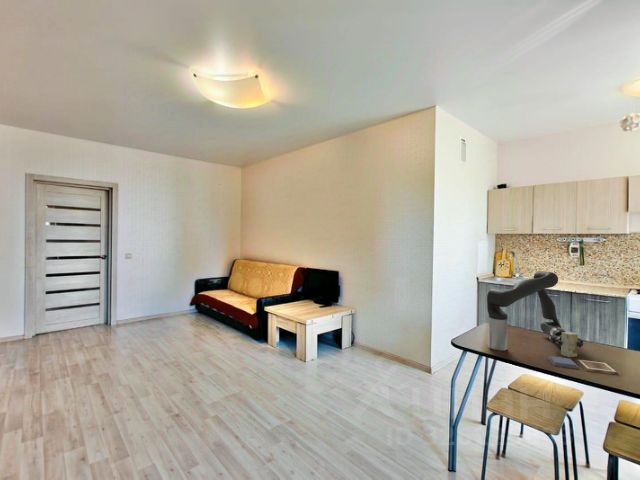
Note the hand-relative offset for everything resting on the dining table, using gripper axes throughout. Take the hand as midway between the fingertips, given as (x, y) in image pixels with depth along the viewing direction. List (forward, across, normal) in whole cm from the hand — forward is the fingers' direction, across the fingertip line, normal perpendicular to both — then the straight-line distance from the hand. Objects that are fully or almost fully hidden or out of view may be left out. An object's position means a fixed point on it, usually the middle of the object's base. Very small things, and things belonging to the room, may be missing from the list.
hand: (570, 344), depth 164 cm
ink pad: (+12, -7, +7) cm, 15 cm away
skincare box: (-2, 0, +7) cm, 7 cm away
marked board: (+12, +6, +7) cm, 15 cm away
